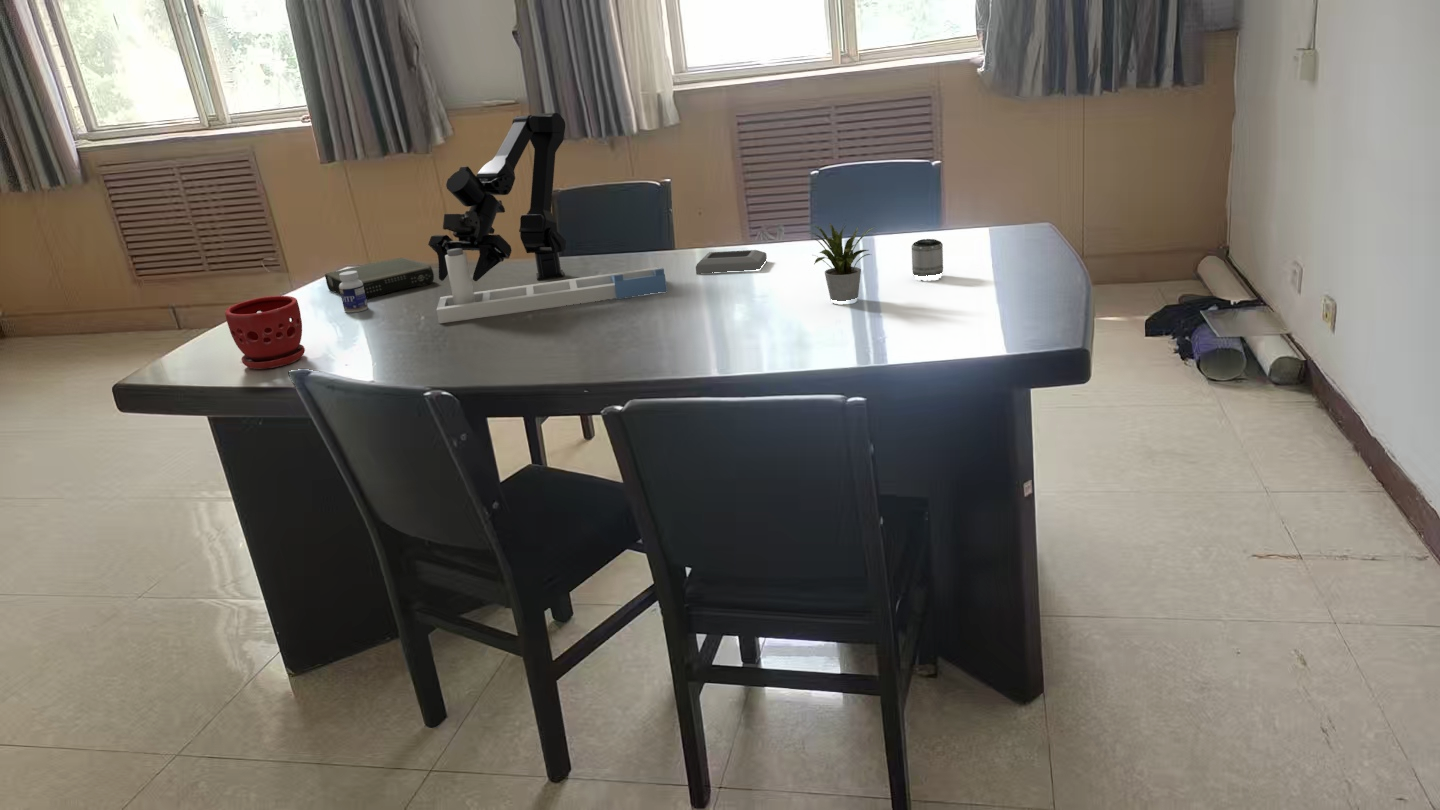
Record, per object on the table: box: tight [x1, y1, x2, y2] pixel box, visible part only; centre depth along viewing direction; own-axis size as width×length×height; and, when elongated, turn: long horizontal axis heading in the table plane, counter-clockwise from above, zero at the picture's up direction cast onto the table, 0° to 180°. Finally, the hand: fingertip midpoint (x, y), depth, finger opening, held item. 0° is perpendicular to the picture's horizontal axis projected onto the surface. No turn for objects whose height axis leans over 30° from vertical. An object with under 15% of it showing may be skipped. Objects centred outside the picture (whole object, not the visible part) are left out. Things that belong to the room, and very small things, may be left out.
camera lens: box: [911, 238, 944, 276], centre depth 209 cm, size 6×6×8 cm
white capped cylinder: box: [445, 248, 475, 305], centre depth 218 cm, size 4×4×14 cm
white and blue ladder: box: [436, 266, 668, 324], centre depth 222 cm, size 13×49×5 cm, turn 101°
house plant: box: [808, 219, 876, 301], centre depth 197 cm, size 14×14×16 cm
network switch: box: [324, 257, 435, 300], centre depth 255 cm, size 23×24×5 cm
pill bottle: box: [339, 271, 369, 314], centre depth 232 cm, size 5×5×9 cm
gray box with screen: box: [695, 249, 768, 275], centre depth 236 cm, size 10×4×15 cm
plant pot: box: [224, 295, 306, 370], centre depth 196 cm, size 13×13×12 cm
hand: (457, 280), depth 217 cm, fingers open, 9 cm apart
